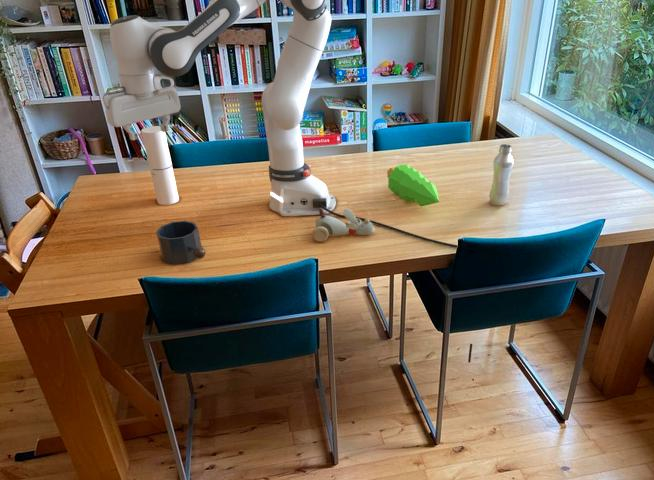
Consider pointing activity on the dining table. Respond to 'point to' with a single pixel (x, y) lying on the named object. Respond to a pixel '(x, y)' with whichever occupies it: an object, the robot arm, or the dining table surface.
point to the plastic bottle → (501, 176)
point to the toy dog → (340, 226)
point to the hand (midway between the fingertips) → (150, 135)
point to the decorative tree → (411, 185)
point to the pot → (180, 242)
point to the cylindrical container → (160, 165)
